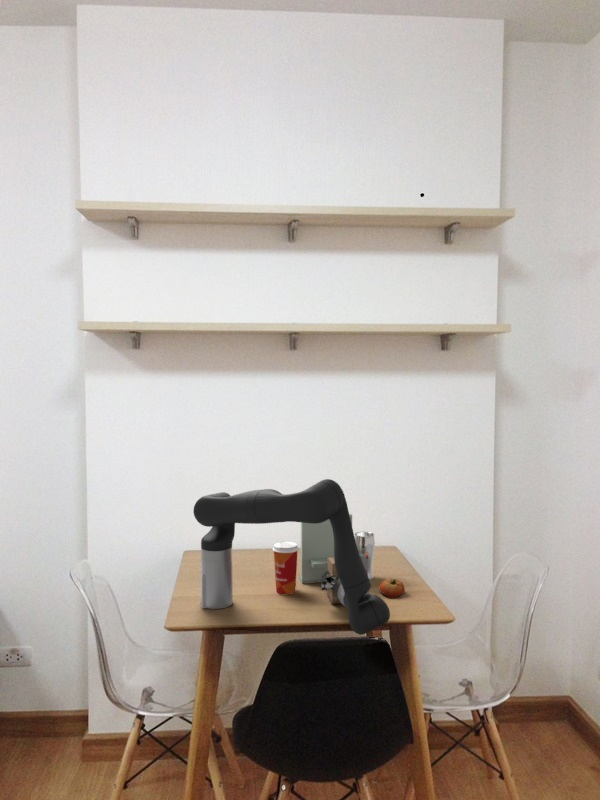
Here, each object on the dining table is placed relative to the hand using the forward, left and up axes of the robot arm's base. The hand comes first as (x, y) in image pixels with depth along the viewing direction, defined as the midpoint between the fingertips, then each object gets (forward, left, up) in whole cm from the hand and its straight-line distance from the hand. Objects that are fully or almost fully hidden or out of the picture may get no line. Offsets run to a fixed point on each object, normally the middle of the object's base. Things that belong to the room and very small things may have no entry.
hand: (335, 573), depth 193 cm
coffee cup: (-14, +9, -8) cm, 19 cm away
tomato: (+18, 0, -8) cm, 20 cm away
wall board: (+1, +15, -8) cm, 17 cm away
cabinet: (0, -3, -7) cm, 7 cm away
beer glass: (+14, +16, -8) cm, 23 cm away
